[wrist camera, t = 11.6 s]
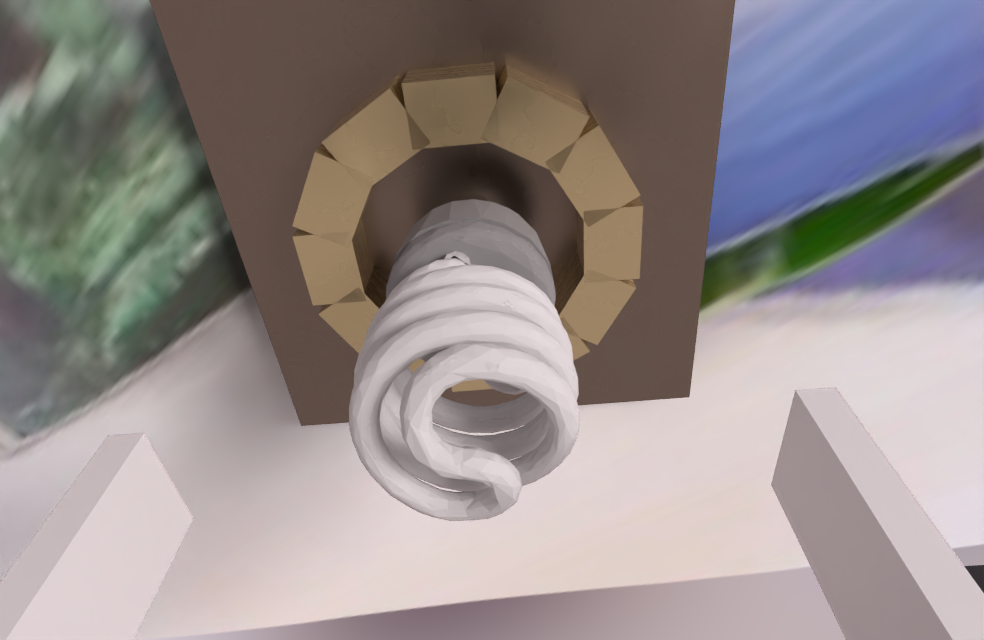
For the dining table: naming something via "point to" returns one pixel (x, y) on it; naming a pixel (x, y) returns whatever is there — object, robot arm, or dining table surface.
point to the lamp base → (463, 164)
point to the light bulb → (465, 366)
